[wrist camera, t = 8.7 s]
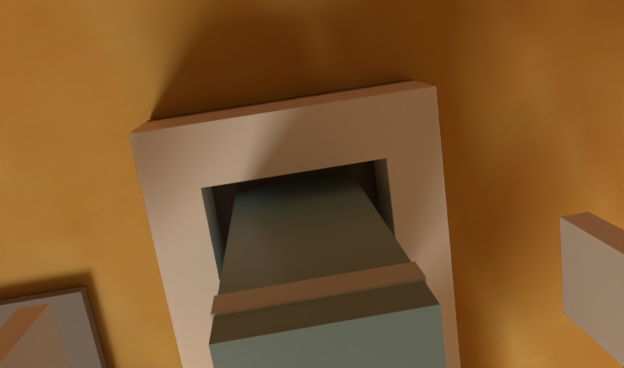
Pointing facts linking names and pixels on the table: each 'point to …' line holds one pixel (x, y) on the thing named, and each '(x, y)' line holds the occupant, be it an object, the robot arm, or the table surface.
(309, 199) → the plug
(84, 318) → the pad
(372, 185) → the power strip
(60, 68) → the table surface
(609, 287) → the robot arm
